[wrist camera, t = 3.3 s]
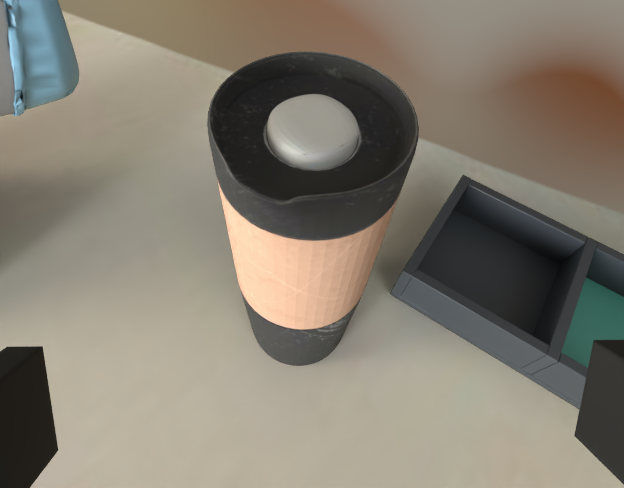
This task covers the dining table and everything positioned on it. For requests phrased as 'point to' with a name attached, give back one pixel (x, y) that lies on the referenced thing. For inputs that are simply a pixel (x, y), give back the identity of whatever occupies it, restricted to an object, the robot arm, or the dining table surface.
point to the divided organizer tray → (517, 286)
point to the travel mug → (308, 190)
